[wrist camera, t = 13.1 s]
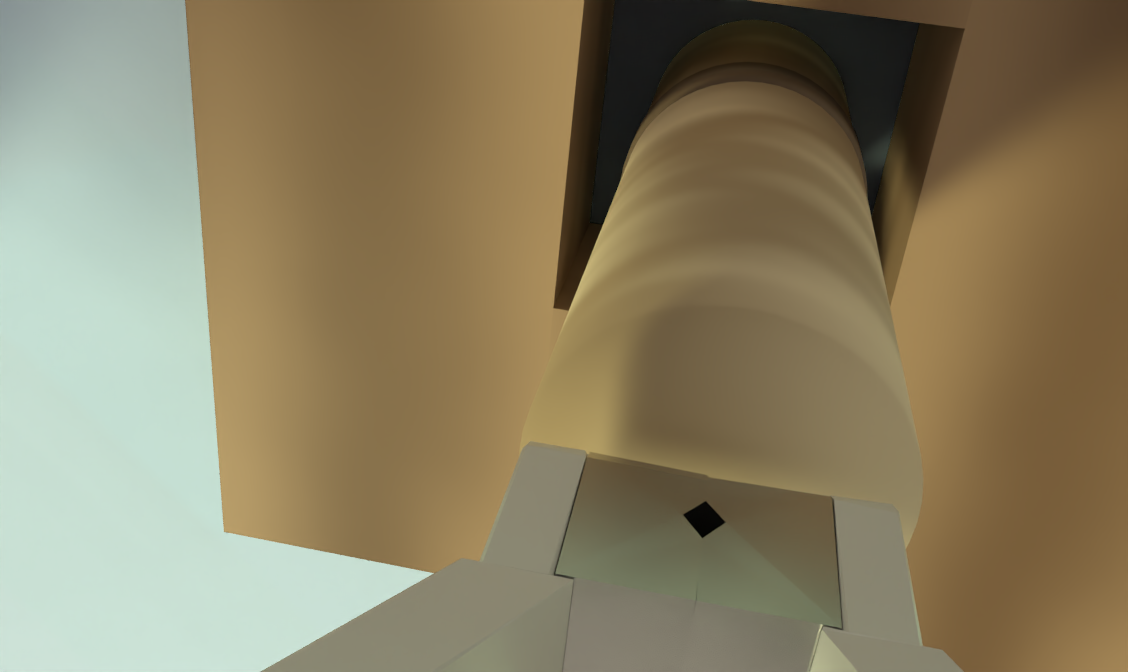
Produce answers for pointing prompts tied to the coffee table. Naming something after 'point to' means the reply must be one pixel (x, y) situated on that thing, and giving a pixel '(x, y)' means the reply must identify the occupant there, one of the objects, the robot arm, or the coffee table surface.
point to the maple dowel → (740, 289)
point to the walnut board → (563, 248)
